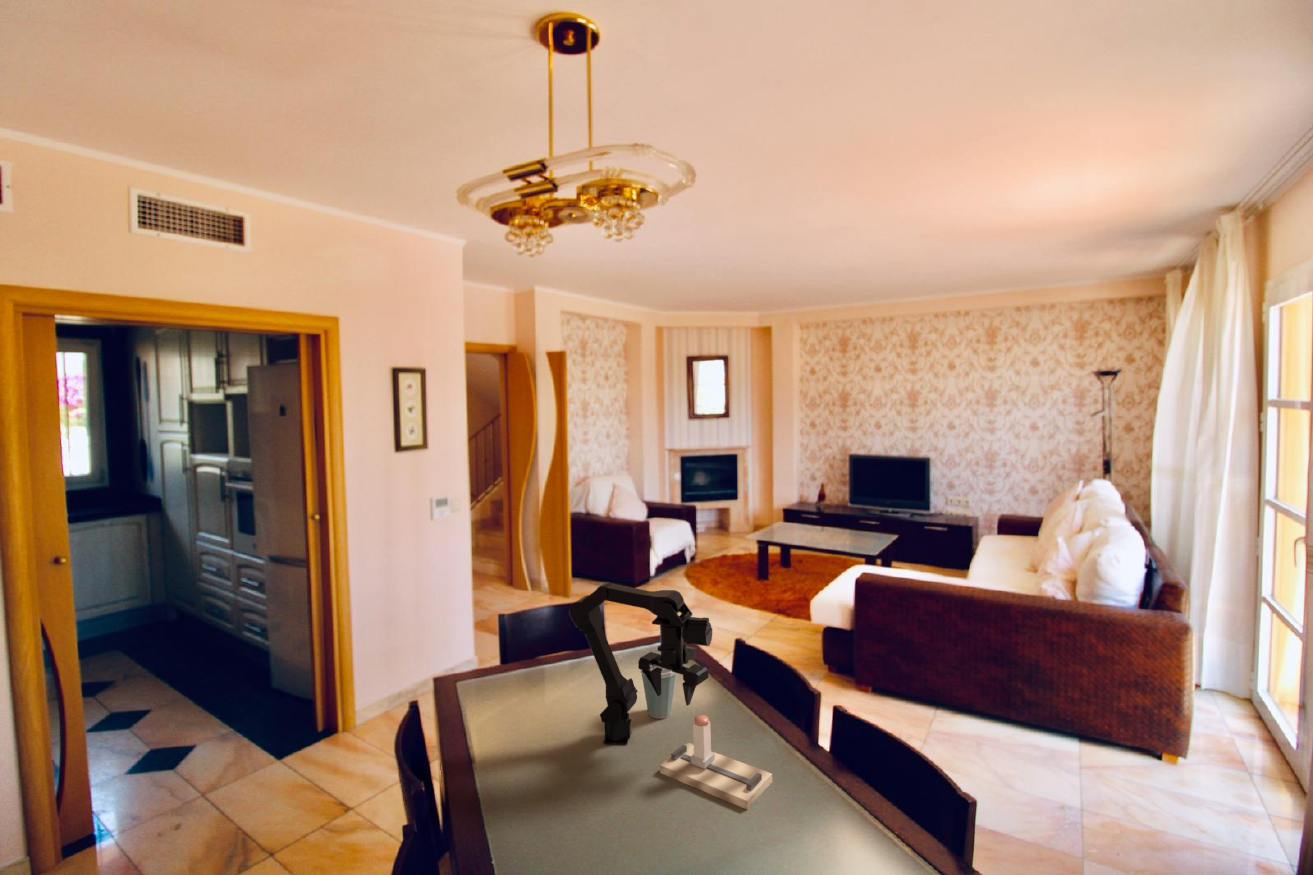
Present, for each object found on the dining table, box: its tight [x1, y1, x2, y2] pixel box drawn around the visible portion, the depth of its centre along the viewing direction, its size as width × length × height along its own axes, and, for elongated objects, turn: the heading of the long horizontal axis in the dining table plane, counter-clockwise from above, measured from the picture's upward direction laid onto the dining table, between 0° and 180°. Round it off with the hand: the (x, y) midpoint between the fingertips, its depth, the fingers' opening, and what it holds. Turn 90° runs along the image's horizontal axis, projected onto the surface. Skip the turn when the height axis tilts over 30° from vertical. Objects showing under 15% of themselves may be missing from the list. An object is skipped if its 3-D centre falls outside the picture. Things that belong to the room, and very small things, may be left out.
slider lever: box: [691, 714, 715, 769], centre depth 150 cm, size 4×4×11 cm
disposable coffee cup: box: [640, 669, 677, 720], centre depth 179 cm, size 11×11×15 cm
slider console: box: [659, 742, 773, 810], centre depth 148 cm, size 24×12×3 cm, turn 53°
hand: (673, 700), depth 160 cm, fingers open, 9 cm apart
